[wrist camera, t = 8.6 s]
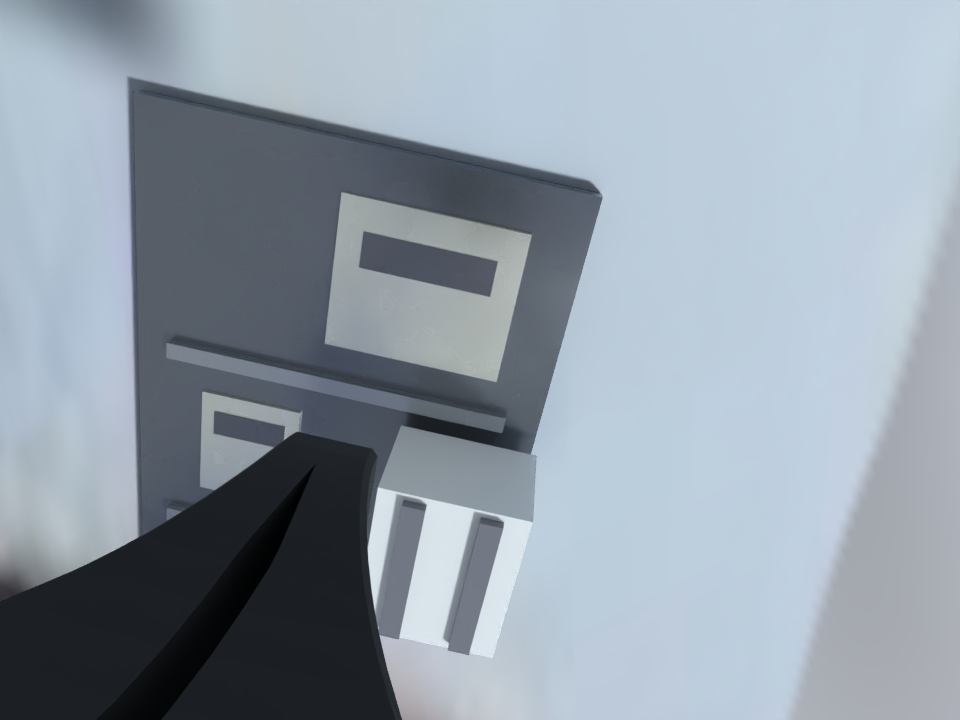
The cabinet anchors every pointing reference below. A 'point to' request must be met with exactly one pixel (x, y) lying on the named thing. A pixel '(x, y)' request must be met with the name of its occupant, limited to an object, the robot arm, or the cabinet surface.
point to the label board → (334, 295)
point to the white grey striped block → (449, 539)
